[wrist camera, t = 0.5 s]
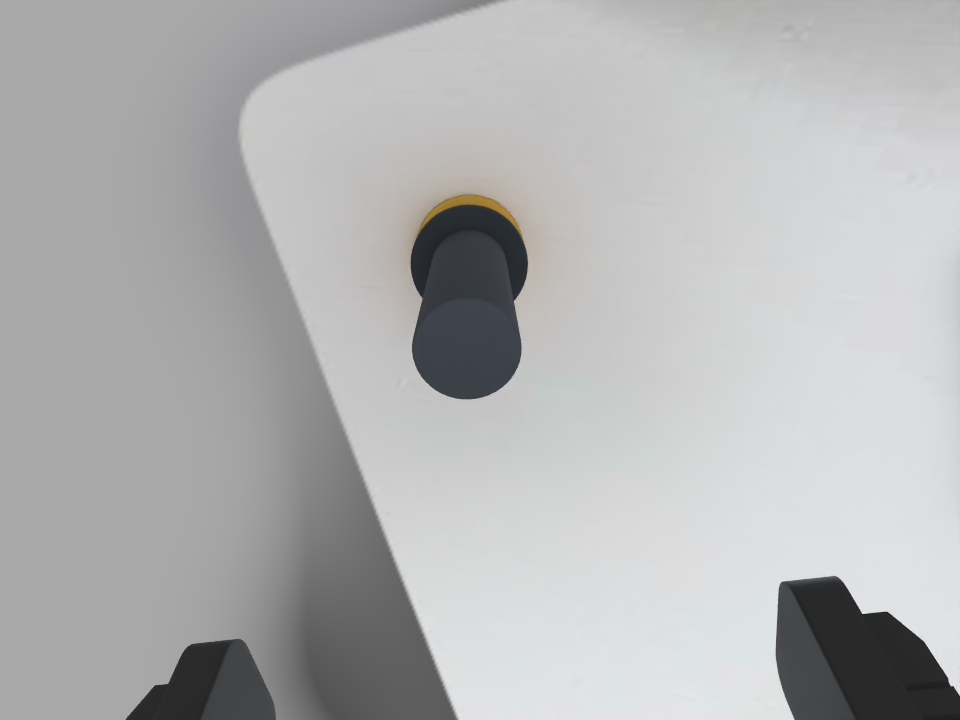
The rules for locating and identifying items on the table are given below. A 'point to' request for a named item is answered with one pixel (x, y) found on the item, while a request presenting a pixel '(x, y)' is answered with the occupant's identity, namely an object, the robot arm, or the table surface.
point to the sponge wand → (468, 296)
